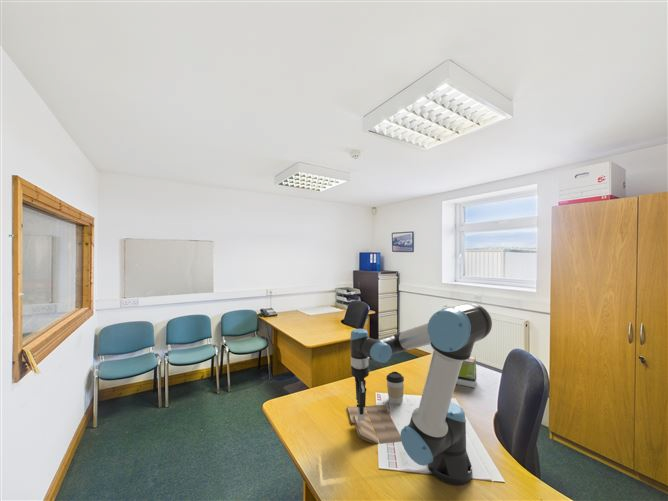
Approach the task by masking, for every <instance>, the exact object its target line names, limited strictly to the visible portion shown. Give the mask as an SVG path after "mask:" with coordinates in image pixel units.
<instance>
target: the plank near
mask: <svg viewBox="0 0 668 501" xmlns="http://www.w3.org/2000/svg"><path fill="white" fill-rule="evenodd" d="M353 420H354V423H355V425H354V427H355V429H356V432H357V435H358V438H359V439H362V440H365V441H366V442H369V443H371V444H372V445H377V444H380V443H379V440H378V438H377V435H376V433H375V430H374V428H373V425H372V423H369V422H367V421H365V420H364V421H358V417H357V416H355V415H354V416H353Z"/></svg>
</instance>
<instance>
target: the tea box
mask: <svg viewBox="0 0 668 501" xmlns="http://www.w3.org/2000/svg"><path fill="white" fill-rule="evenodd" d="M476 363H477V361H476V356H471V355H470V358H469V359H468V360H466V361H463V362H462V365H461V369H460V372H459V375H458V379H457V382H456V385H459V386H464V387H469V388H473V389H474V388H476V384H477V380H478V378H477V364H476Z"/></svg>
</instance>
